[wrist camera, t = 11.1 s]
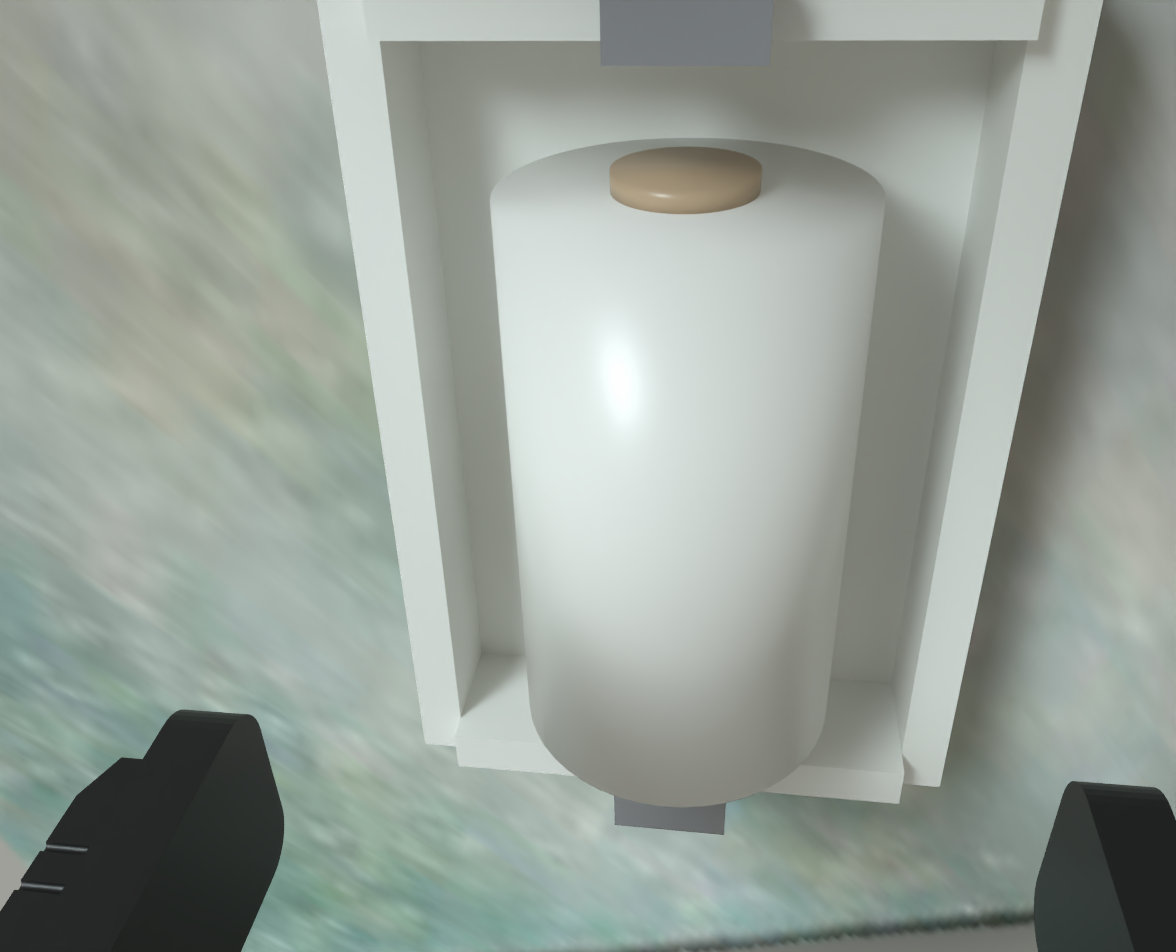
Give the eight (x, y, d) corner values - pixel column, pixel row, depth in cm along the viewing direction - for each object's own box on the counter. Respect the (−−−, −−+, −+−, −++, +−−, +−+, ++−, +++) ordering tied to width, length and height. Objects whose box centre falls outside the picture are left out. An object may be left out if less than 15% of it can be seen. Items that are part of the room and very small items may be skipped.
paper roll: (532, 116, 17) (440, 228, 13) (875, 119, 16) (904, 241, 12) (559, 601, 22) (501, 802, 18) (821, 622, 21) (827, 836, 17)
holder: (369, -62, 16) (267, -22, 13) (1064, -71, 15) (1150, -31, 12) (454, 663, 24) (405, 805, 21) (922, 698, 23) (950, 855, 19)
